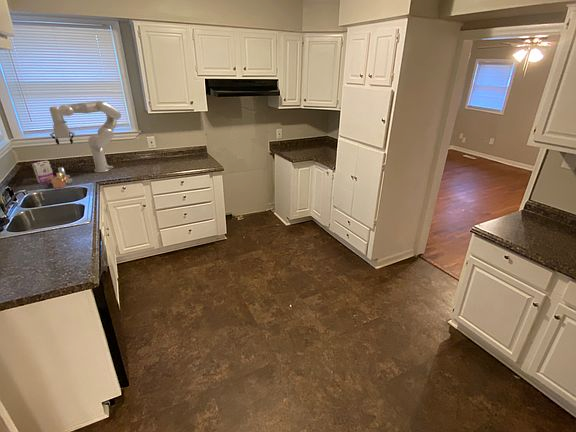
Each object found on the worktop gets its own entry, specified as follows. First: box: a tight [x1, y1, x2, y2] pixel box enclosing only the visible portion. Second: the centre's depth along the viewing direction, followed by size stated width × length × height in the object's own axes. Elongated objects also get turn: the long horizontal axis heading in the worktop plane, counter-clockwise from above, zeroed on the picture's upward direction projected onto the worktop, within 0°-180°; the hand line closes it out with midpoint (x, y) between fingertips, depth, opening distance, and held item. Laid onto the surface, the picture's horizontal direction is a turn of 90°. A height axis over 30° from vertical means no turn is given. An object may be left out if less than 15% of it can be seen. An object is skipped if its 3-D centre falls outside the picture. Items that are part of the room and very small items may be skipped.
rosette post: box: [50, 166, 73, 189], centre depth 252 cm, size 10×20×12 cm, turn 20°
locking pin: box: [56, 171, 63, 179], centre depth 250 cm, size 3×3×10 cm
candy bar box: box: [31, 160, 55, 184], centre depth 255 cm, size 11×5×16 cm, turn 148°
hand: (65, 143), depth 260 cm, fingers open, 9 cm apart
